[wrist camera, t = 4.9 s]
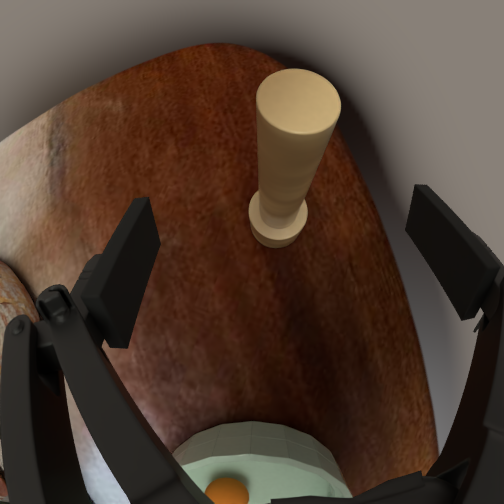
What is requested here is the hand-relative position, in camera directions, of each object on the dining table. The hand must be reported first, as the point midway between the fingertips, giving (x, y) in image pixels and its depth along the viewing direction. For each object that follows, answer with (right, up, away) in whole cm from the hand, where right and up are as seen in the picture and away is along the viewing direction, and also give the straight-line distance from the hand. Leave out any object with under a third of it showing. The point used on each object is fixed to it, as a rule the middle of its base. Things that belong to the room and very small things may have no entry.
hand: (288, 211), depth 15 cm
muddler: (0, +1, +12) cm, 12 cm away
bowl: (-2, -25, +9) cm, 27 cm away
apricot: (-4, -24, +8) cm, 26 cm away
